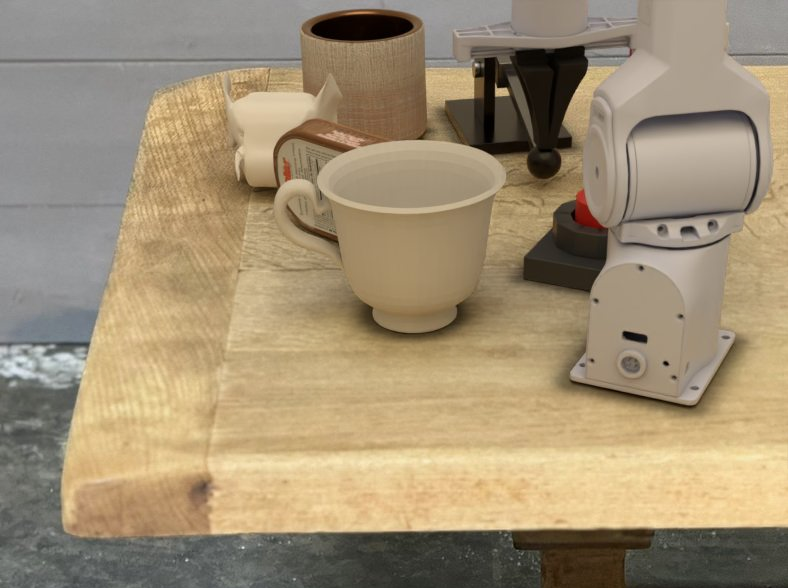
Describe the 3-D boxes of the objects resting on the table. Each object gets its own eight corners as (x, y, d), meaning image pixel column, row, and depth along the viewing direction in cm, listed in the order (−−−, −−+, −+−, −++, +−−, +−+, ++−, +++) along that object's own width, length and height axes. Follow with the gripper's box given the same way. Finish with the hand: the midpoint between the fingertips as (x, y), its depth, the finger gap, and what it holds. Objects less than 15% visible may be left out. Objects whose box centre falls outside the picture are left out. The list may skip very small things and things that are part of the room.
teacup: (284, 282, 94) (272, 145, 88) (492, 271, 95) (494, 134, 89) (282, 364, 84) (268, 217, 79) (514, 352, 85) (518, 204, 79)
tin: (444, 261, 96) (443, 149, 91) (415, 276, 94) (413, 162, 90) (299, 211, 105) (291, 105, 100) (270, 223, 103) (261, 116, 98)
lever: (563, 184, 106) (567, 155, 104) (529, 187, 106) (532, 157, 104) (518, 72, 118) (520, 42, 116) (487, 74, 117) (489, 45, 115)
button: (621, 235, 92) (622, 211, 91) (566, 226, 93) (567, 202, 92) (639, 214, 94) (641, 190, 93) (586, 205, 96) (587, 182, 95)
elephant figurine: (208, 210, 105) (195, 99, 100) (244, 156, 115) (234, 52, 110) (326, 213, 104) (319, 101, 99) (352, 158, 114) (347, 54, 109)
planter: (301, 157, 114) (293, 44, 109) (310, 115, 123) (303, 9, 118) (426, 155, 114) (425, 41, 108) (427, 112, 123) (425, 6, 117)
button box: (631, 299, 90) (635, 251, 88) (522, 279, 93) (524, 232, 91) (674, 243, 98) (679, 198, 96) (572, 226, 101) (574, 182, 99)
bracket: (571, 147, 114) (576, 62, 110) (469, 156, 113) (469, 70, 109) (539, 103, 124) (542, 23, 120) (444, 110, 123) (444, 30, 119)
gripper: (631, -54, 101) (618, 120, 109) (444, -41, 100) (446, 134, 108) (659, -32, 96) (644, 150, 104) (462, -18, 94) (462, 165, 102)
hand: (544, 144), depth 105 cm, fingers closed, pressing on lever
